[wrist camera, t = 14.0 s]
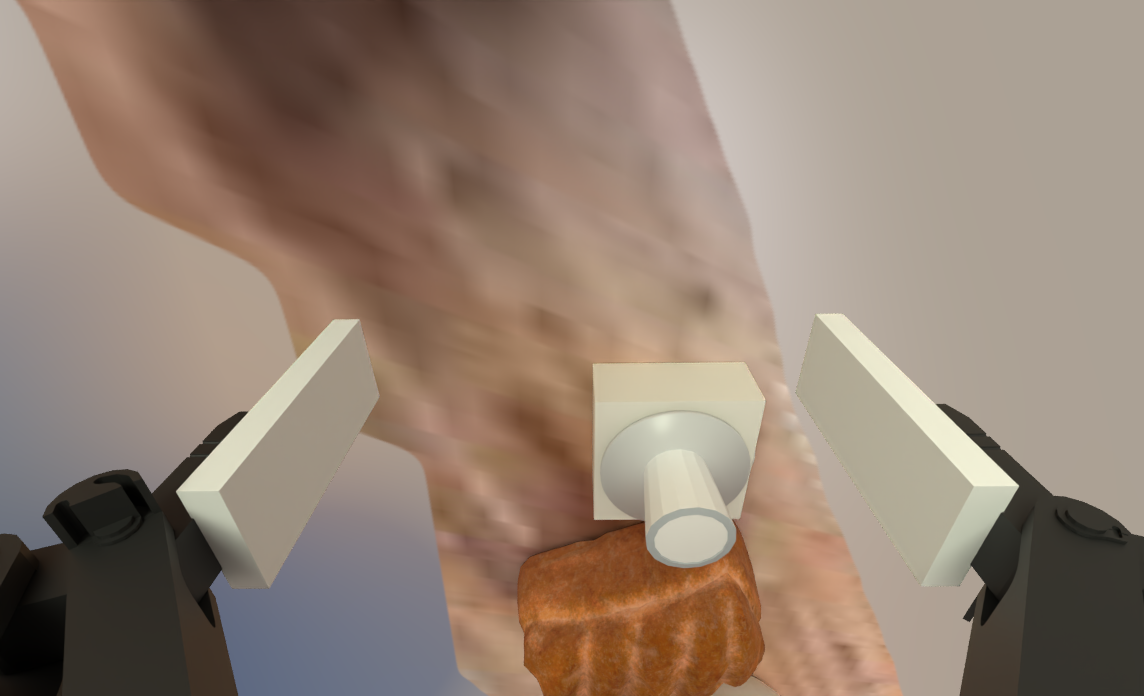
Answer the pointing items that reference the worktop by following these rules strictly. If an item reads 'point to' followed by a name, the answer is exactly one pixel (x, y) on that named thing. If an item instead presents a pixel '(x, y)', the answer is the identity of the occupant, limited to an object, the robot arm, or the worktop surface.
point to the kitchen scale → (671, 428)
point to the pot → (746, 689)
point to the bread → (637, 620)
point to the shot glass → (685, 511)
